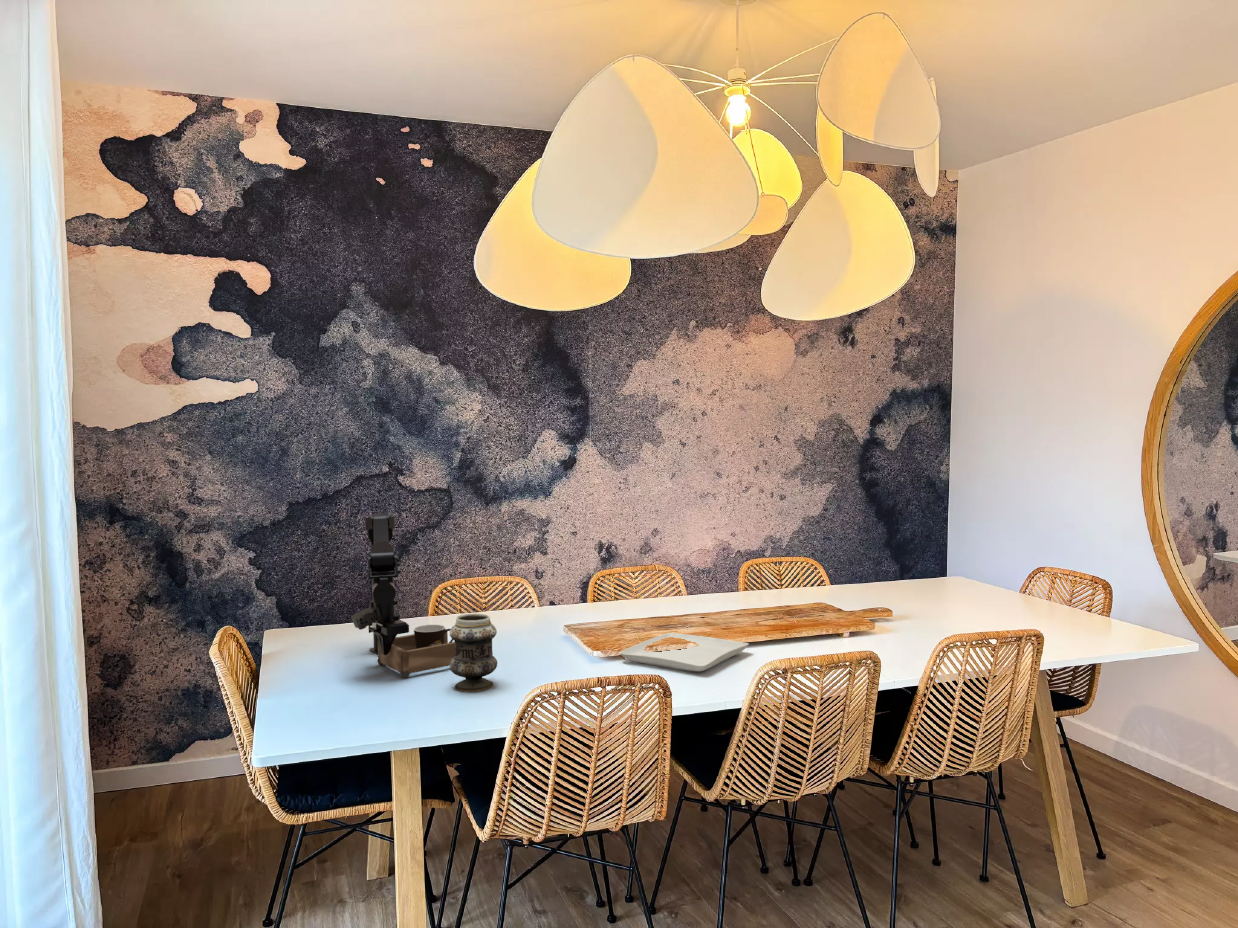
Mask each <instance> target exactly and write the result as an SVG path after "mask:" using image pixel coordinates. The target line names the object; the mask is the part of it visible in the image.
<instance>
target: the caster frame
mask: <svg viewBox="0 0 1238 928" xmlns="http://www.w3.org/2000/svg"><path fill="white" fill-rule="evenodd" d="M445 630H446V628H445ZM448 635H449V634H448V631H447V632H446V633H445V636H444V644H440V645H435V646H429V647H424V648H419V649H416V642H415V636H414V633H412V634H408V635H401V636H396V638H395V640H394V642H393V644H392V646H391V649H390V651H389V653H388V655H383V653H382V650H381V647H380V643H379V640H378V654H377V664H378V665H379V666H384V665H385V666H386V667H388V668H390V669H392V670H393V671H396V672H398V673H400V676H401V677H402V678H404V679H406V678H408V677H409V676H410V674H414V673H419V672H424V671H430V670H434V669H435V670H436V669H440V668H444V667H448V666H449V665H450V661H451V660H452V659H453V658H454V653H455V641H452V642H451V643H449V641H448V640H449V639H448ZM449 667H450V666H449Z"/></svg>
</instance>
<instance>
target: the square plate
mask: <svg viewBox="0 0 1238 928" xmlns="http://www.w3.org/2000/svg"><path fill="white" fill-rule="evenodd" d="M668 637H674V638H681V639H685V640H687V641H691V642H696V643H697V644H699V645H700V646H698V647H693V648H687V649H681V650H670V651H662V652H646V651H644V649H645V647H646V646H647V645H650V644H652V643H653V642H656V641H659V640H661V639H664V638H668ZM749 645H750V643H748V642H743V641H742V642H741V641H736V640H731V639H730V640H729V639H724V638H717V637H710V636H704V635H695V634H686V633H675V632H667V633H664V634H661V635H658V636H655V637H652V638H649V639H647V640H645V641H642V642H640V643H637V644H635V645H632V646H630V647H628V648H626V649H624V650H621V651H619V652H618V653H619V655H620V656H621V657H623V658H624V659H626V660H628V661H630V662H634V663H640V664H645V665H650V666H654V667H655V666H656V667H661V668H662V667H663V668H668V669H674V670H680V671H684V672H685V671H686V672H704V671H706V670H708V669H710V668H712V667H714V666H716V665H718V664H720V663H722V662H724V661H726V660H728V659H730V658H731V657H734V656H736V655H738V654H740V653H742V652H743V651H744V650H745V649H747V647H748V646H749Z"/></svg>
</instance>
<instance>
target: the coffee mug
mask: <svg viewBox="0 0 1238 928" xmlns="http://www.w3.org/2000/svg"><path fill="white" fill-rule="evenodd" d="M445 629H446V626H445V625H442V624H425V625H418V626H416V627H414V628H413V634H414V636H415V642H416V649H419V648H424V647H429V646H435V645H440V644H444V636H445V633H446V632H447V633H448V632H450V630H451V628H447V629H446V630H445ZM451 642H454V640H453V639H452V638H451V639H450V641H448V643H451Z"/></svg>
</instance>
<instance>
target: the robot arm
mask: <svg viewBox="0 0 1238 928" xmlns="http://www.w3.org/2000/svg"><path fill="white" fill-rule="evenodd" d="M395 521H396V520H395V517H394V516H391V515H389V514H387V513H378V514H377V513H376V514H373V515H370V516H369V517H366V518H364V529H365V530H364V531H365V533H366V534H367V538H368V540H369V542H370V543H371V545H372V546H371V547H370V548H369V551H370V553H369V555H367V572H368V573H367V574H368V575H367V577H368V578H367V579H368V580H372V581H371V588H372V589H371V590H372V600H370V601H369V603H368V605H369V606H368V607H367V608H364V609H362V610H360V611H358V612H357V613H354V614H353V615H351V617H350V618H351V621H352V622H353V625H354V627H355V628H356V629H358V630H364V629H365V628H367V627H368V633H370V634H371V633H373V634H372V636H373V647H370V648H369V651H370V652H372V653H374V654H376V655H378V640H379V643H380V647H381V650H382V653H383V655H388V653H389V651H390V649H391V646H392V644H393V642H394V640H395V638H396V637H398V636H397V635H402V634H408V633H410V625H409V624H408V623H407V622H406V621H404V620H402V619H401V614H400V613H399V610H397V609H396V605H398V603H399V602H398V601H399V600H396V599H395V598H396V595H397V592H396V588H395V587H396V586H395V578H399V574H401V565H400V564H401V562H400V557H399V556H398V554H397V553H395V547H394V546H393V545H392V544H390V543H391V541H392V539H393V532H395V531H396V525H395V524H396V523H395Z"/></svg>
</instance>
